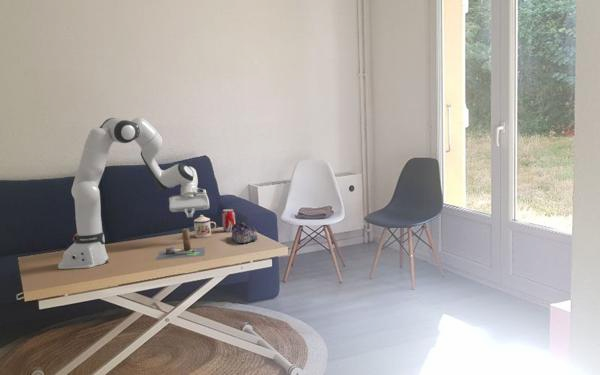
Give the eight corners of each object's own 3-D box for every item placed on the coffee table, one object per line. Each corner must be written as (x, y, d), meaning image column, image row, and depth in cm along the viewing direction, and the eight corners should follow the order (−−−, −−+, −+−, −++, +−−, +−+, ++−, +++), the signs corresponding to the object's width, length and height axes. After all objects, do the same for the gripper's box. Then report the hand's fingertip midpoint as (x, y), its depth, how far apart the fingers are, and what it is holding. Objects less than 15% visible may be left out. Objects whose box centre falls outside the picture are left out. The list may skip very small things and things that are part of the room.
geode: (224, 239, 306) (224, 220, 306) (244, 238, 312) (245, 219, 311) (238, 244, 288) (239, 224, 288) (259, 243, 294) (260, 224, 293)
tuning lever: (164, 253, 273) (162, 230, 272) (169, 251, 277) (166, 228, 276) (193, 254, 269) (191, 230, 267) (197, 252, 273) (195, 228, 271)
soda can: (233, 232, 320) (232, 211, 319) (221, 232, 322) (219, 211, 320) (237, 229, 327) (236, 208, 325) (225, 229, 329) (224, 208, 327)
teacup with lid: (196, 238, 310) (194, 217, 308) (193, 235, 318) (191, 214, 317) (218, 235, 314) (216, 214, 312) (215, 232, 322) (213, 212, 321)
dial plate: (155, 263, 264) (155, 259, 264) (159, 254, 281) (159, 250, 280) (204, 258, 266) (204, 255, 266) (205, 250, 283) (205, 246, 283)
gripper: (168, 192, 296) (167, 214, 288) (208, 189, 298) (209, 211, 290) (169, 199, 301) (169, 221, 293) (209, 196, 303) (210, 218, 295)
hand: (189, 216), depth 291 cm, fingers closed
